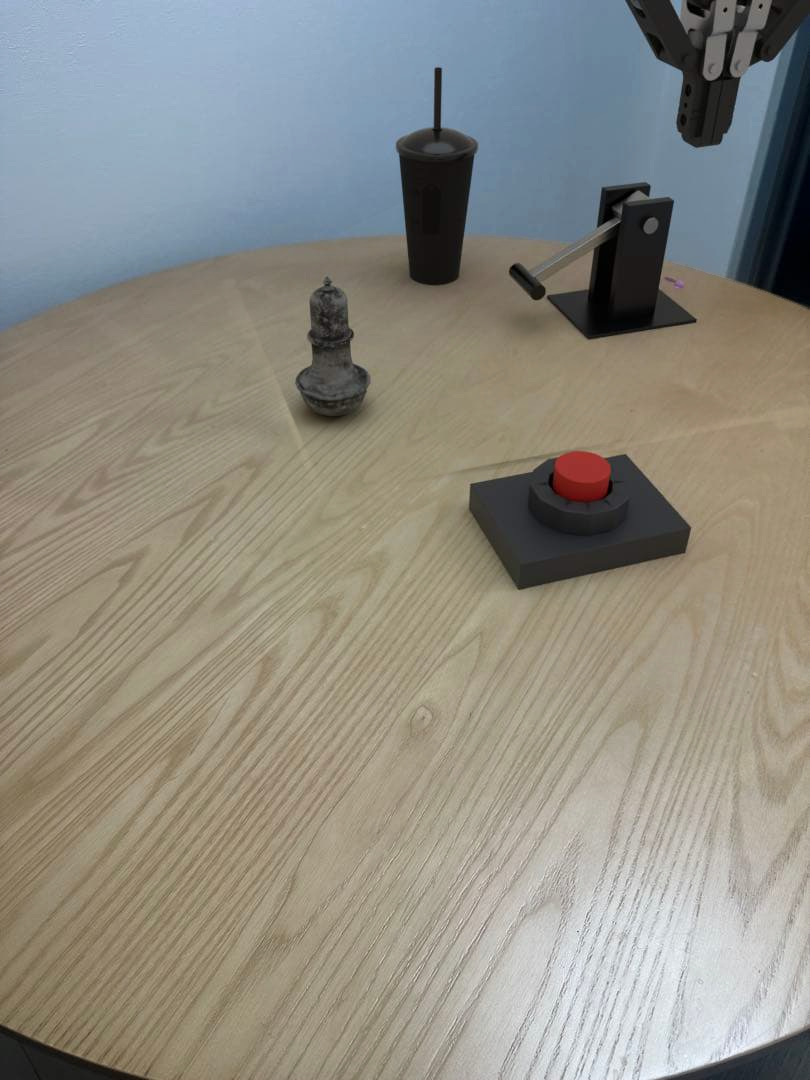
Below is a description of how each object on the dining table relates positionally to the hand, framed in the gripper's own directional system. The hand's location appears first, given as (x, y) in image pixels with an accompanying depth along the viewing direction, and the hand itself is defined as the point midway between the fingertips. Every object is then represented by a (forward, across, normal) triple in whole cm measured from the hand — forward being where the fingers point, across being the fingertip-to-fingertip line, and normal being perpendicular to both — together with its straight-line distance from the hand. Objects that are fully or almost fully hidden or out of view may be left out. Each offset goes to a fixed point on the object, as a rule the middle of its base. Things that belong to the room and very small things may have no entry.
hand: (700, 142), depth 56 cm
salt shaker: (+23, -21, +13) cm, 34 cm away
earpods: (+24, +17, +26) cm, 39 cm away
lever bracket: (+24, +9, +22) cm, 34 cm away
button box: (+23, -9, -6) cm, 25 cm away
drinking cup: (+24, -5, +35) cm, 43 cm away
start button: (+19, -9, -6) cm, 22 cm away
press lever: (+17, +5, +22) cm, 28 cm away
